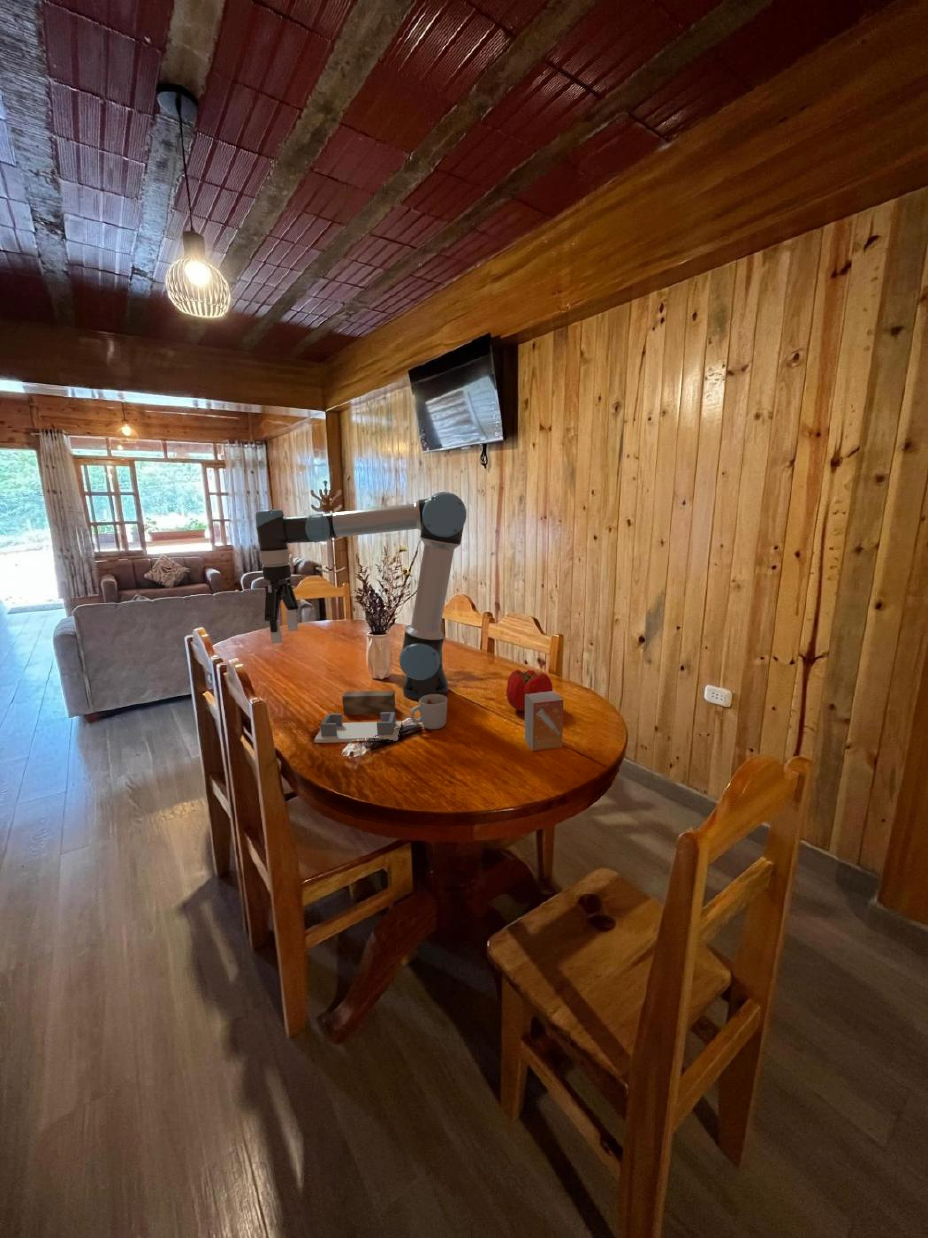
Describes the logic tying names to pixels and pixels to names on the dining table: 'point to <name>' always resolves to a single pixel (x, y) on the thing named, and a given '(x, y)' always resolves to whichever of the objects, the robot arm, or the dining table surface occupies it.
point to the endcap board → (357, 729)
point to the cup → (431, 711)
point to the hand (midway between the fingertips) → (285, 636)
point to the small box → (543, 720)
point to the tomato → (525, 686)
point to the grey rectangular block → (368, 702)
